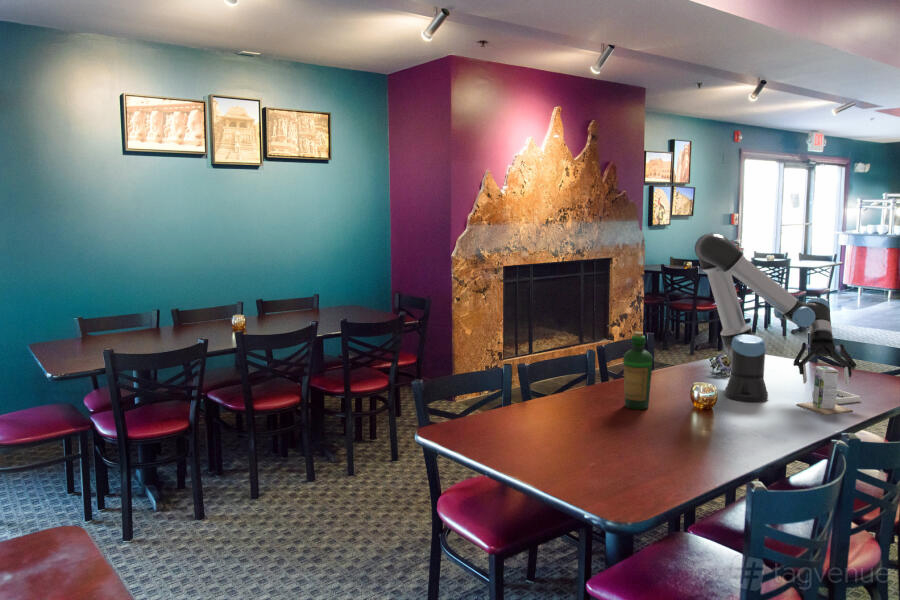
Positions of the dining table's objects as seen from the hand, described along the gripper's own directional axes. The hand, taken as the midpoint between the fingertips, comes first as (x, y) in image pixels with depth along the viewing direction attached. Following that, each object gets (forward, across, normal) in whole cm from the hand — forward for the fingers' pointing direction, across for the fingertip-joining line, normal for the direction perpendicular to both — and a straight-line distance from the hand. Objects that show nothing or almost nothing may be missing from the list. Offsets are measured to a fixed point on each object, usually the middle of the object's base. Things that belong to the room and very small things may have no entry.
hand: (826, 383), depth 233 cm
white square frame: (-2, -6, -15) cm, 16 cm away
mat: (+8, +1, -4) cm, 9 cm away
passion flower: (-21, +34, -35) cm, 53 cm away
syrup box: (+8, +1, -4) cm, 9 cm away
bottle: (+21, +65, +10) cm, 69 cm away
